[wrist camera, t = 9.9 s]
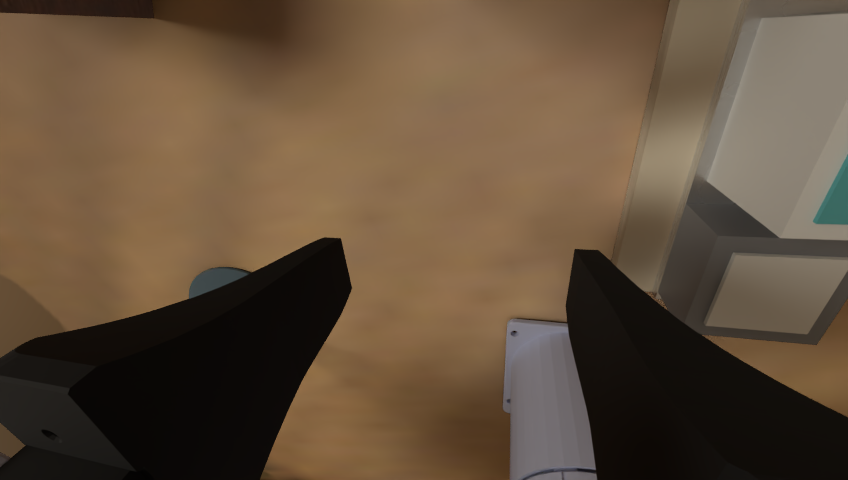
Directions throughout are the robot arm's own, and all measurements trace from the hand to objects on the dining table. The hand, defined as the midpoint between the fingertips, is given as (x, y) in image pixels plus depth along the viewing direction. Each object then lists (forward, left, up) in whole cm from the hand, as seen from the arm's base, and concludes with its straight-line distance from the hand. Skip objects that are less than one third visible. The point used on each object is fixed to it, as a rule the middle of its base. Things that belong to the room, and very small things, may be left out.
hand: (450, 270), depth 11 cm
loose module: (+3, -12, -8) cm, 15 cm away
